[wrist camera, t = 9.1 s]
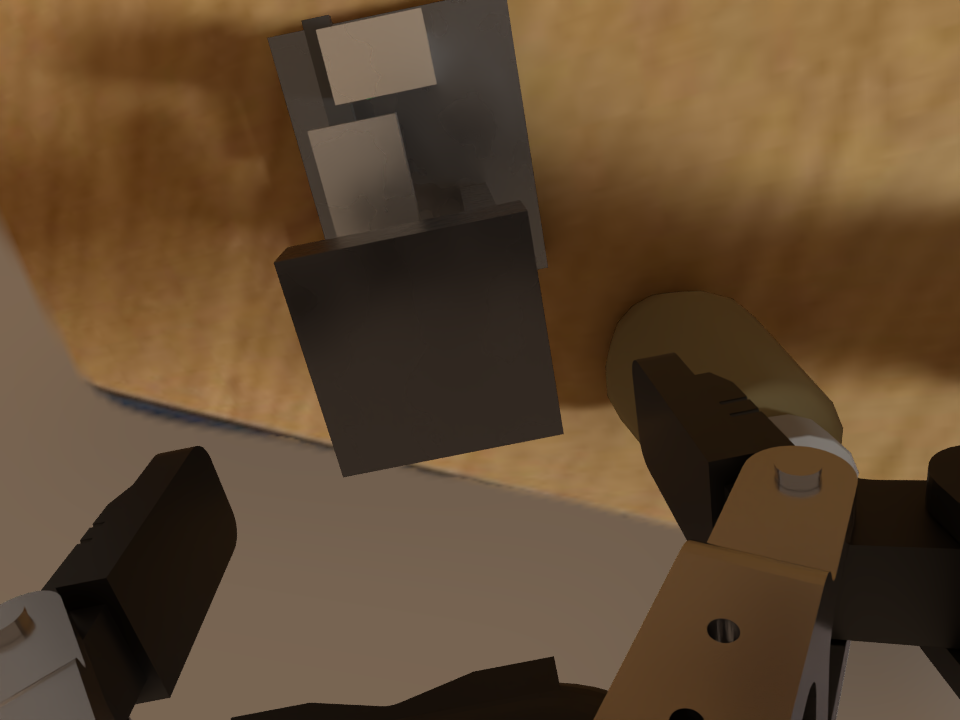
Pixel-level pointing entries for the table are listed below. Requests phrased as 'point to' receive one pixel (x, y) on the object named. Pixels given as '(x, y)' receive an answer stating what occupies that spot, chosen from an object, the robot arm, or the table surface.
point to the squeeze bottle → (722, 363)
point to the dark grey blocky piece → (416, 313)
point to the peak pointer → (325, 73)
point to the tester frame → (424, 102)
